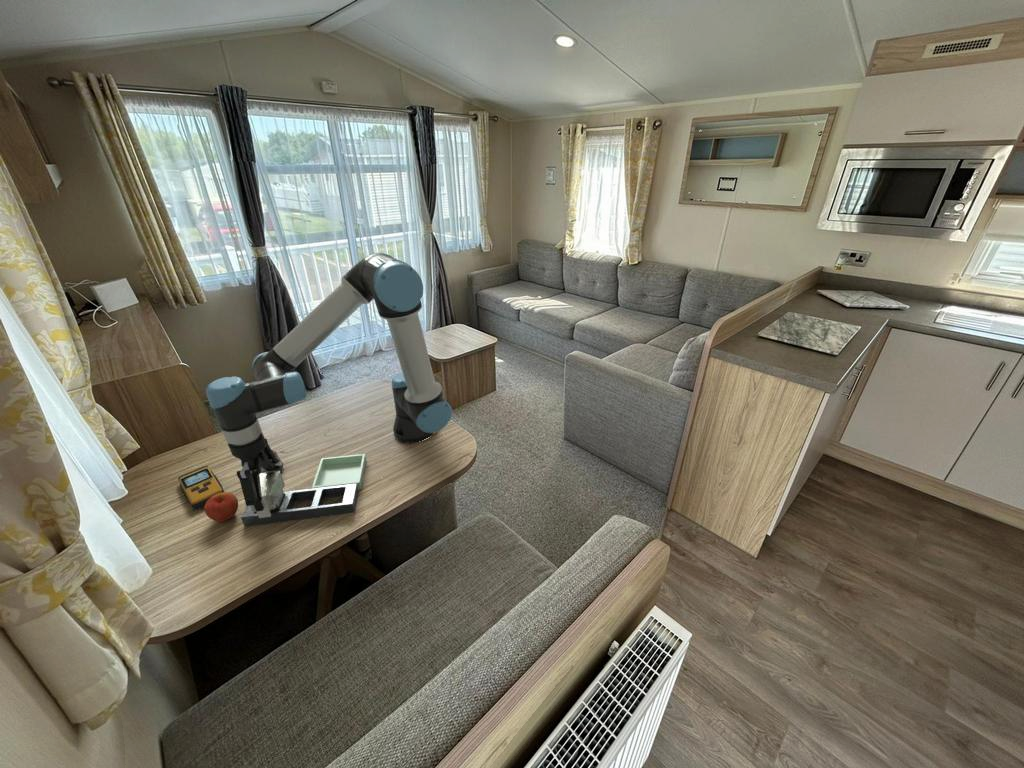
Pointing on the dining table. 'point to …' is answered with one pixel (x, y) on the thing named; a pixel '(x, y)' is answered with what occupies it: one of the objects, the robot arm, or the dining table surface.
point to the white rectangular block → (272, 490)
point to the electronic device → (200, 486)
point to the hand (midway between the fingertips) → (271, 502)
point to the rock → (275, 464)
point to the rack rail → (314, 511)
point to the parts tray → (340, 471)
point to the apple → (221, 506)
